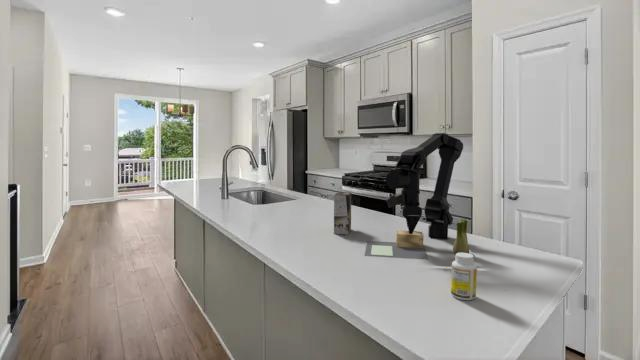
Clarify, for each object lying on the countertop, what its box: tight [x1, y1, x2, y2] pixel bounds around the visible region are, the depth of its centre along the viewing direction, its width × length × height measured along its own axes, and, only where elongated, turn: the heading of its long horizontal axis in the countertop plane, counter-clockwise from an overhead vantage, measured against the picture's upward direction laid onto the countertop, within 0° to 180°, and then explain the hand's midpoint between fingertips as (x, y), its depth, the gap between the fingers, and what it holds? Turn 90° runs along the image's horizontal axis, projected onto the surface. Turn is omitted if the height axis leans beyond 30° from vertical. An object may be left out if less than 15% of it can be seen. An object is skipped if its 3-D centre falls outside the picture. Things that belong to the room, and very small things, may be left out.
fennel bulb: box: [452, 219, 470, 256], centre depth 115 cm, size 6×5×12 cm
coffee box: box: [333, 191, 352, 235], centre depth 147 cm, size 9×6×16 cm
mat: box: [363, 240, 429, 260], centre depth 121 cm, size 20×18×1 cm
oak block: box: [395, 229, 424, 248], centre depth 125 cm, size 9×6×4 cm, turn 80°
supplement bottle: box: [450, 252, 478, 301], centre depth 84 cm, size 6×6×10 cm
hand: (409, 230), depth 125 cm, fingers open, 9 cm apart
